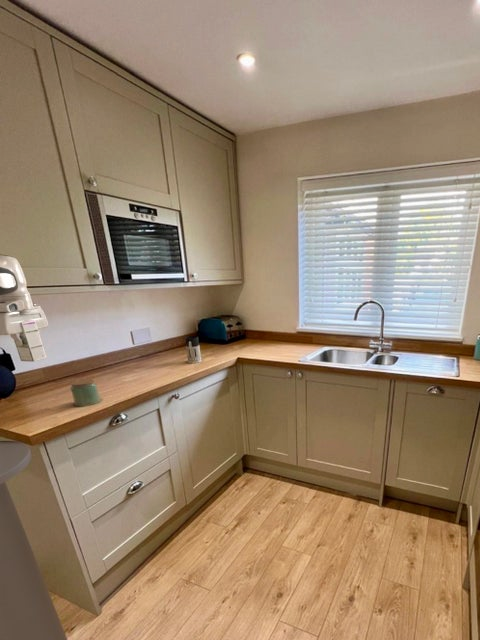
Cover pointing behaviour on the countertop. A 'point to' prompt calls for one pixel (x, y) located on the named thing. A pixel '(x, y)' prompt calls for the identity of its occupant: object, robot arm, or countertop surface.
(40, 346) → the syrup box
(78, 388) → the green lidded jar
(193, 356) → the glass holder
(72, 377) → the countertop surface
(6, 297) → the robot arm
